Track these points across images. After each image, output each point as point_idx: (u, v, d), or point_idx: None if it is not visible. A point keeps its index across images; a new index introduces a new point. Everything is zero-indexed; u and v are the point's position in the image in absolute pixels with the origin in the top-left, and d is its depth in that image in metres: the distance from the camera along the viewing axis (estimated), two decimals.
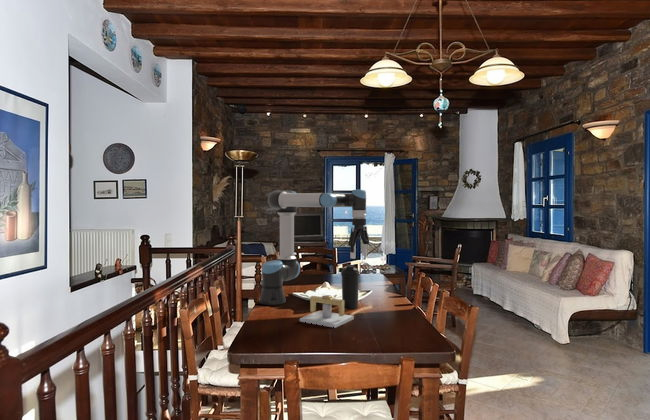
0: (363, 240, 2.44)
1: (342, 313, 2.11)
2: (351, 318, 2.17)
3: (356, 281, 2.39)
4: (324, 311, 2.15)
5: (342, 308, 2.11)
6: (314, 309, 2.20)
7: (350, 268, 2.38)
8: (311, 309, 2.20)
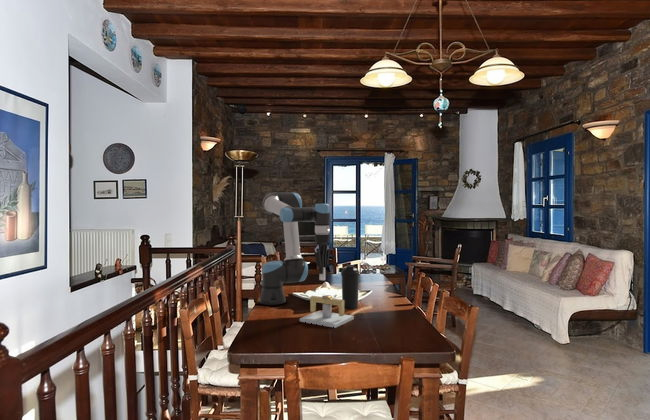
0: None
1: (342, 313, 2.11)
2: (351, 318, 2.17)
3: (356, 281, 2.39)
4: (324, 311, 2.15)
5: (342, 308, 2.11)
6: (314, 309, 2.20)
7: (350, 268, 2.38)
8: (311, 309, 2.20)
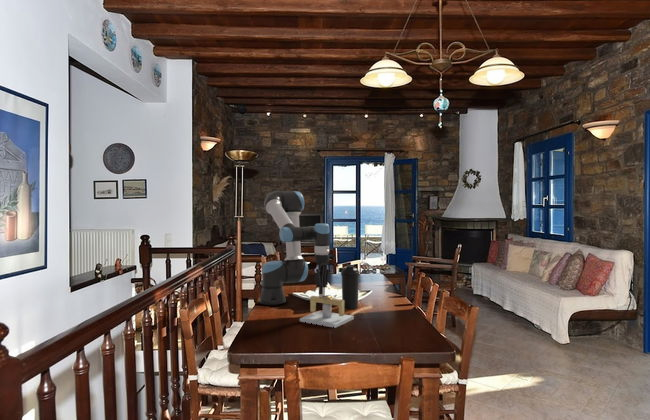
0: None
1: (342, 313, 2.11)
2: (351, 318, 2.17)
3: (356, 281, 2.39)
4: (324, 311, 2.15)
5: (342, 308, 2.11)
6: (314, 309, 2.20)
7: (350, 268, 2.38)
8: (311, 309, 2.20)
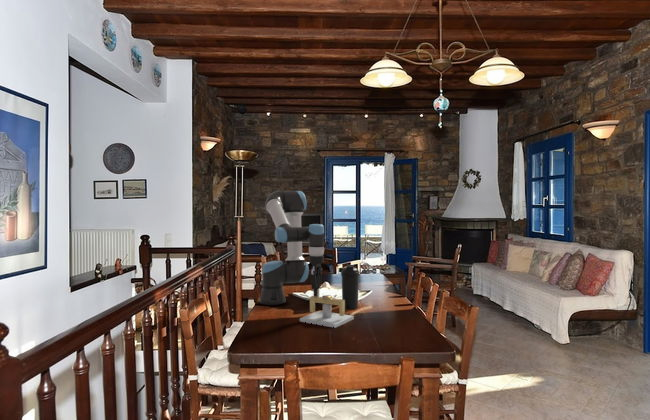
0: None
1: (343, 313, 2.12)
2: (351, 318, 2.17)
3: (356, 281, 2.39)
4: (324, 311, 2.15)
5: (343, 308, 2.12)
6: (313, 309, 2.20)
7: (350, 268, 2.38)
8: (311, 309, 2.19)
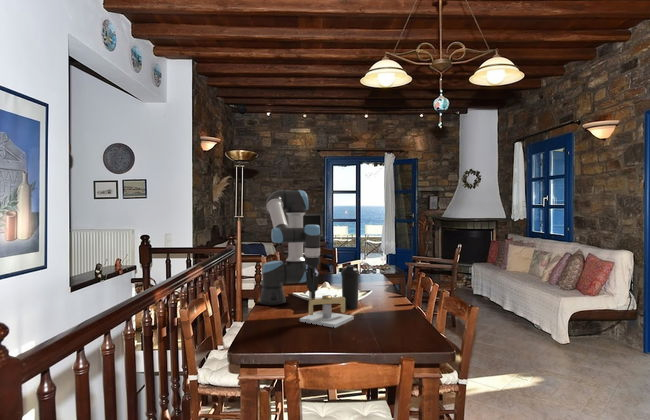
0: None
1: None
2: (351, 318, 2.17)
3: (356, 281, 2.39)
4: (324, 311, 2.15)
5: None
6: None
7: (350, 268, 2.38)
8: (311, 313, 2.13)
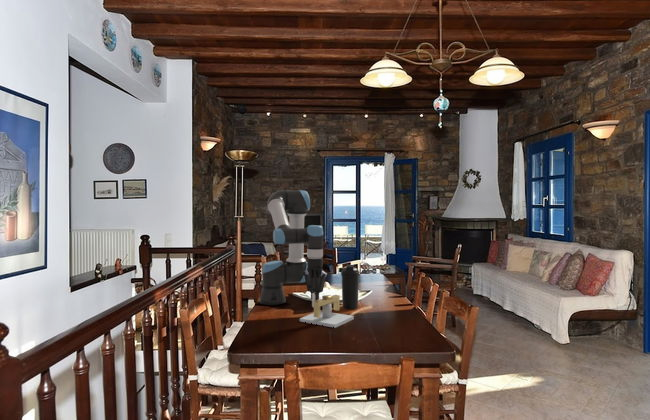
0: (313, 286, 2.12)
1: None
2: (351, 318, 2.17)
3: (356, 281, 2.39)
4: (324, 311, 2.15)
5: None
6: None
7: (350, 268, 2.38)
8: (319, 315, 2.09)
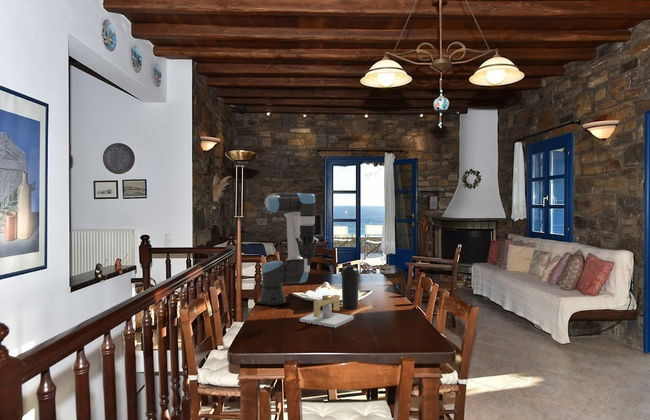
0: (305, 252, 2.21)
1: None
2: (351, 318, 2.17)
3: (356, 281, 2.39)
4: (324, 311, 2.15)
5: None
6: None
7: (350, 268, 2.38)
8: (319, 315, 2.09)
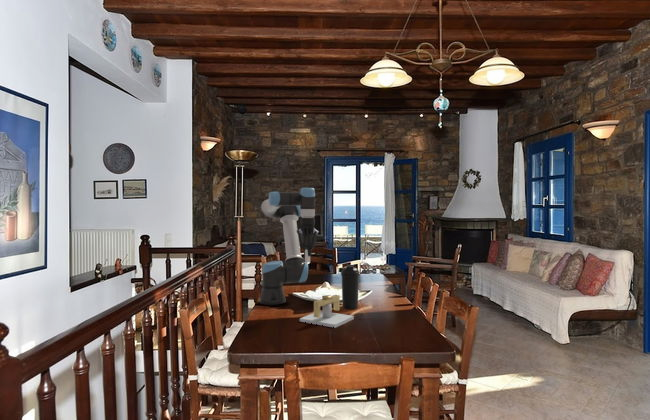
0: (306, 243, 2.32)
1: None
2: (351, 318, 2.17)
3: (356, 281, 2.39)
4: (324, 311, 2.15)
5: None
6: None
7: (350, 268, 2.38)
8: (319, 315, 2.09)
